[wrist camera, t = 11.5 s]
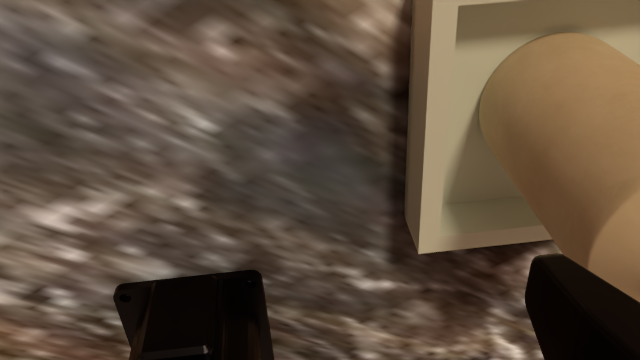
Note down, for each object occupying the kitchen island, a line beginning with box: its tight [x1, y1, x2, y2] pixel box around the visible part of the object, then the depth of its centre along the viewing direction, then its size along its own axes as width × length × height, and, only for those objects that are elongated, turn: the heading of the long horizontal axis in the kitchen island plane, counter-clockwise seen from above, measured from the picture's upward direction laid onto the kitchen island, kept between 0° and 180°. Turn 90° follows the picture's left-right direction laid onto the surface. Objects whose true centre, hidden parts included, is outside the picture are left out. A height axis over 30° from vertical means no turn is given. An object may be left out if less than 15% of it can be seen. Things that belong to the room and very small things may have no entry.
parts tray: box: [404, 0, 640, 254], centre depth 21 cm, size 11×11×2 cm
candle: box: [479, 32, 640, 302], centre depth 17 cm, size 6×6×10 cm
